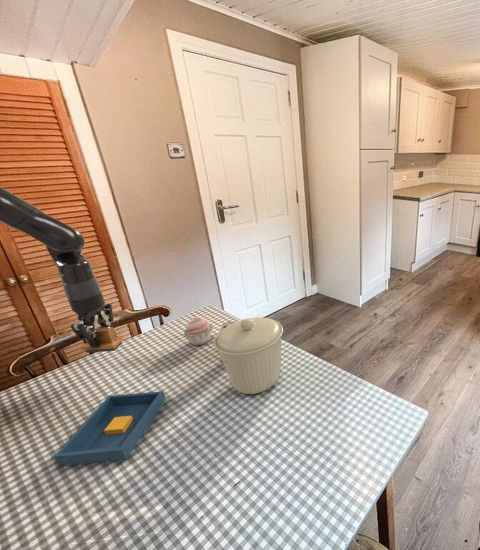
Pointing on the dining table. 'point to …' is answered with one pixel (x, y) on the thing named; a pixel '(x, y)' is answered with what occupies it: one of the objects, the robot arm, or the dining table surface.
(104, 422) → the tray
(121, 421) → the yellow square block
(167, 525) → the dining table surface
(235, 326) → the canister
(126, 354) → the dining table surface
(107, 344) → the brown wooden stepped block
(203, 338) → the cupcake
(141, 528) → the dining table surface
